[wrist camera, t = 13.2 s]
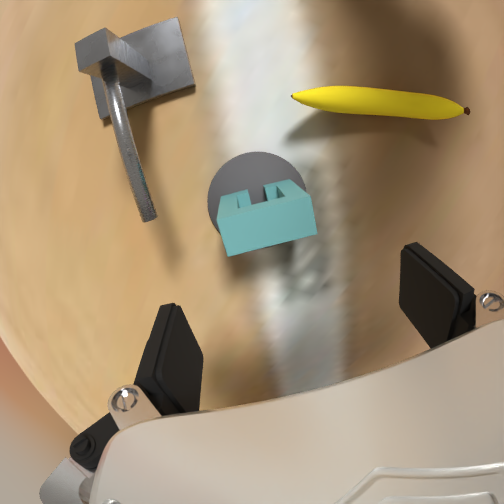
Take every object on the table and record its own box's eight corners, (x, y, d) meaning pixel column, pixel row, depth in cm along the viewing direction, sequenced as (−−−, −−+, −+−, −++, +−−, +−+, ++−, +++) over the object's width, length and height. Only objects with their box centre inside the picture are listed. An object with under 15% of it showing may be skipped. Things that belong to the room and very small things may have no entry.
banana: (279, 88, 24) (293, 76, 18) (434, 98, 25) (469, 97, 19) (282, 116, 25) (296, 111, 20) (436, 121, 26) (471, 124, 20)
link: (289, 179, 28) (310, 196, 20) (295, 207, 29) (317, 233, 21) (220, 196, 28) (216, 220, 21) (228, 224, 29) (227, 256, 22)
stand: (178, 20, 20) (152, -32, 10) (221, 180, 28) (213, 208, 17) (90, 56, 21) (31, 31, 10) (130, 207, 28) (82, 248, 18)
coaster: (295, 142, 26) (296, 142, 26) (313, 234, 30) (314, 235, 30) (196, 166, 27) (195, 166, 26) (222, 256, 31) (222, 258, 30)
